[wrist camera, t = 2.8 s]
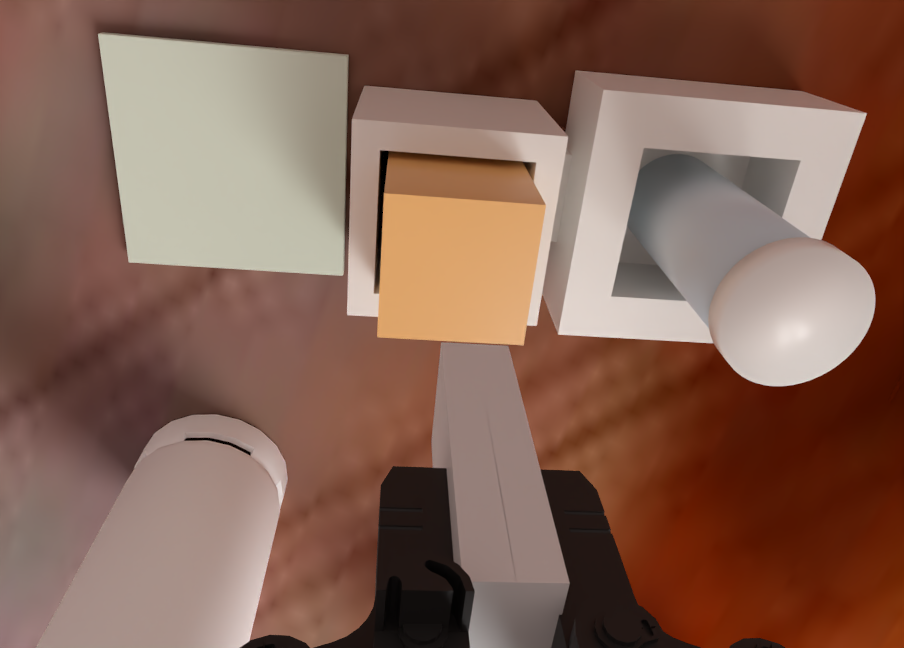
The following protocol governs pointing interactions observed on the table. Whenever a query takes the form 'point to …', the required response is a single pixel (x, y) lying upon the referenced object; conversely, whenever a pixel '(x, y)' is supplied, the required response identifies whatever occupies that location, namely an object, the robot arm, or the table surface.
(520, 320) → the plunger
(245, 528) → the bottle
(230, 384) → the table surface
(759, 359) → the grey rounded cylinder
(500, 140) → the white compartment holder
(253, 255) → the rubber mat
